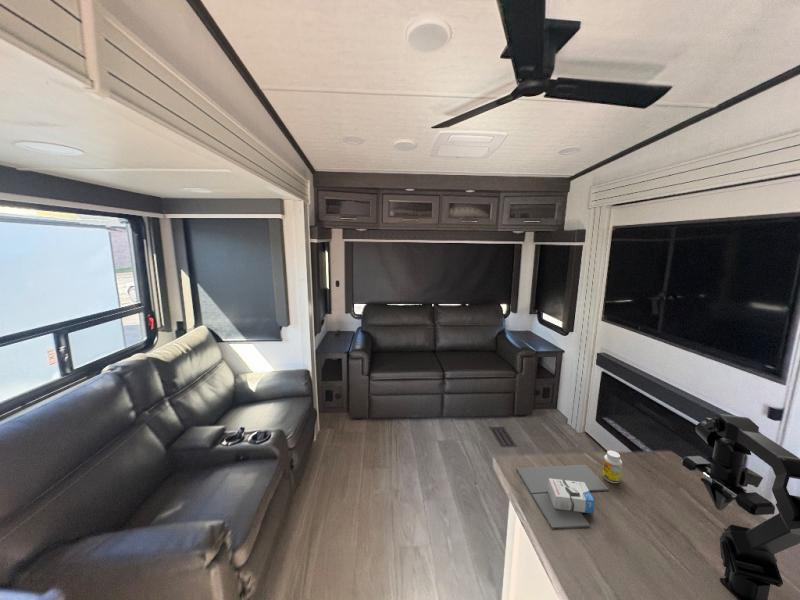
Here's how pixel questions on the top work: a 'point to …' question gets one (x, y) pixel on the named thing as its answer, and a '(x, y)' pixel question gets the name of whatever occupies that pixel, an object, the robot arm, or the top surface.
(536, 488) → the rubber mat
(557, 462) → the top surface
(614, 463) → the supplement bottle
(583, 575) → the top surface
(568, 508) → the ink box
